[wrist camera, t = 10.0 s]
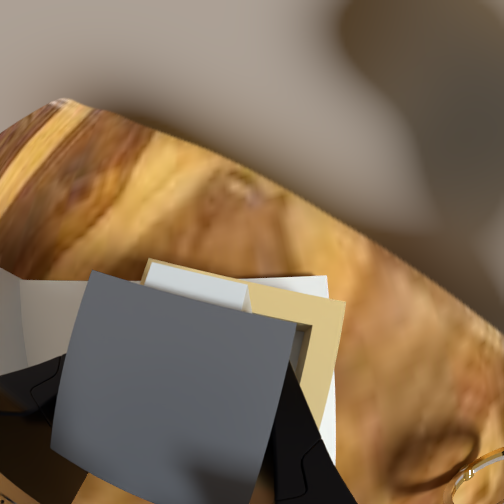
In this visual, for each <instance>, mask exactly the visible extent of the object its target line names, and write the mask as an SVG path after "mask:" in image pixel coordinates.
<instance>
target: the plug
mask: <svg viewBox="0 0 504 504" xmlns="http://www.w3.org/2000/svg"><path fill="white" fill-rule="evenodd" d="M296 325H297V323H293V322H288V321H284V320H279V319H274V318H270V317H265V316H261V315H256V314H252V308H251V302H250V296H249V289H248V285H247V284H242V283H238V282H234V281H229V280H225V279H221V278H216V277H212V276H208V275H203V274H199V273H195V272H191V271H187V270H183V269H179V268H174V267H170V266H166V265H162V264H158V263H154V262H152V264H151V266H150V269H149V272H148V275H147V278H146V281H145V284H144V285H140V284H137V283H133V282H130V281H127V280H123V279H120V278H117V277H114V276H110V275H107V274H104V273H101V272H98V271H95V270H92V272H91V274H90V277H89V280H88V283H87V286H86V289H85V292H84V295H83V298H82V301H81V304H80V307H79V310H78V313H77V317H76V320H75V323H74V327H73V331H72V334H71V338H70V342H69V345H68V349H67V353H66V357H65V362H64V366H63V370H62V375H61V380H60V385H59V390H58V395H57V401H56V407H55V413H54V420H53V427H52V435H51V444H50V448H51V449H52V450H54V451H55V452H57V453H58V454H60V455H61V456H63V457H64V458H66V459H67V460H69V461H71V462H72V463H74V464H75V465H77V466H79V467H81V468H82V469H84V470H86V471H87V472H89V473H91V474H93V475H95V476H96V477H98V478H100V479H102V480H104V481H106V482H108V483H110V484H112V485H114V486H116V487H118V488H120V489H122V490H124V491H126V492H129V493H131V494H133V495H135V496H138V497H140V498H142V499H145V500H147V501H150V502H152V503H155V504H249V503H250V500H251V497H252V494H253V490H254V487H255V484H256V481H257V478H258V474H259V471H260V468H261V464H262V461H263V458H264V454H265V451H266V447H267V444H268V440H269V437H270V433H271V429H272V426H273V422H274V418H275V414H276V411H277V407H278V403H279V399H280V395H281V391H282V387H283V383H284V379H285V374H286V370H287V366H288V362H289V357H290V353H291V348H292V344H293V339H294V335H295V330H296Z"/></svg>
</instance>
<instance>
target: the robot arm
mask: <svg viewBox="0 0 504 504" xmlns="http://www.w3.org/2000/svg"><path fill="white" fill-rule="evenodd" d="M65 357H66V353H65V354H63V355H62V356H58V357H55V358H53V359H50V360H48V361H45V362H43V363H40V364H37V365H34V366H31V367H28V368H25V369H21V370H18V371H14V372H11V373H7V374H4V375H0V504H71V503H72V501H73V500H74V498H75V496H76V494H77V492H78V491H79V489H80V487H81V485H82V483H83V482H84V480H85V478H86V476H87V474H88V472H87V471H86V470H84V469H82V468H81V467H79V466H77V465H75V464H74V463H72V462H71V461H69V460H67V459H66V458H64V457H63V456H61V455H60V454H58V453H57V452H55V451H54V450H52V449H51V448H50V444H51V435H52V427H53V420H54V413H55V407H56V401H57V395H58V390H59V385H60V380H61V375H62V370H63V366H64V362H65ZM321 438H322V437H321V434H320V432H319V430H318V427H317V425H316V422H315V420H314V418H313V415H312V413H311V410H310V408H309V406H308V403H307V401H306V398H305V396H304V394H303V391H302V389H301V386H300V384H299V382H298V379H297V377H296V374H295V372H294V369H293V367H292V365H291V362H290V360H289V362H288V366H287V370H286V374H285V379H284V383H283V387H282V391H281V395H280V399H279V403H278V407H277V411H276V414H275V418H274V422H273V426H272V429H271V433H270V437H269V440H268V444H267V447H266V451H265V454H264V458H263V461H262V464H261V468H260V471H259V474H258V478H257V481H256V484H255V487H254V490H253V494H252V497H251V500H250V504H358V503H357V502H356V500H355V499H354V497H353V495H352V494H351V492H350V491H349V489H348V487H347V486H346V484H345V483H344V481H343V479H342V478H341V476H340V474H339V472H338V471H337V469H336V467H335V465H334V464H333V461H332V459H331V457H330V455H329V453H328V451H327V449H326V446H325V444H324V441H323V439H321Z"/></svg>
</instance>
